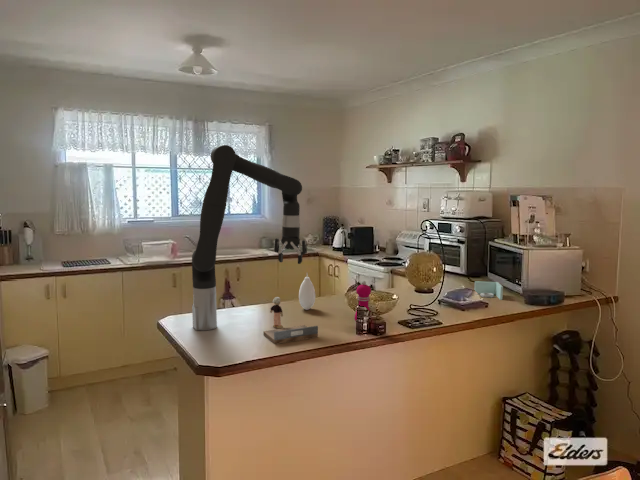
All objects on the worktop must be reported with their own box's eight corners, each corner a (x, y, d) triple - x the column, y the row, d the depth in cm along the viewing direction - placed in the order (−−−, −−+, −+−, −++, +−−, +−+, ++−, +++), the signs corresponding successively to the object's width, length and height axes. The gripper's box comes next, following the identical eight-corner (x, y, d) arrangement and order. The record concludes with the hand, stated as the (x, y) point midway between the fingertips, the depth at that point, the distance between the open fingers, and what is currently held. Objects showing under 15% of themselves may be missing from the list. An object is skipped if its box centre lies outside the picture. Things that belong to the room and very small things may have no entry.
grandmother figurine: (287, 326, 202) (287, 297, 201) (281, 329, 199) (281, 299, 197) (272, 323, 206) (272, 294, 205) (266, 326, 203) (266, 296, 202)
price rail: (274, 340, 181) (274, 332, 180) (274, 339, 181) (274, 331, 181) (318, 333, 189) (318, 326, 188) (317, 333, 189) (317, 325, 189)
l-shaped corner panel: (474, 294, 264) (474, 281, 263) (497, 295, 262) (497, 281, 261) (478, 300, 252) (478, 285, 251) (502, 301, 250) (502, 286, 249)
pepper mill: (353, 325, 204) (353, 279, 202) (370, 325, 205) (370, 278, 202) (355, 331, 197) (356, 282, 194) (373, 330, 197) (374, 282, 195)
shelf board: (274, 344, 181) (274, 340, 181) (263, 334, 191) (263, 331, 191) (317, 337, 189) (317, 333, 189) (304, 328, 200) (304, 325, 199)
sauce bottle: (315, 311, 226) (315, 273, 224) (298, 311, 226) (298, 273, 224) (315, 307, 234) (315, 270, 231) (299, 307, 234) (299, 270, 232)
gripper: (272, 225, 207) (271, 262, 209) (303, 227, 203) (302, 265, 205) (279, 224, 214) (278, 260, 216) (309, 226, 210) (308, 263, 212)
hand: (290, 262), depth 211 cm, fingers open, 8 cm apart
